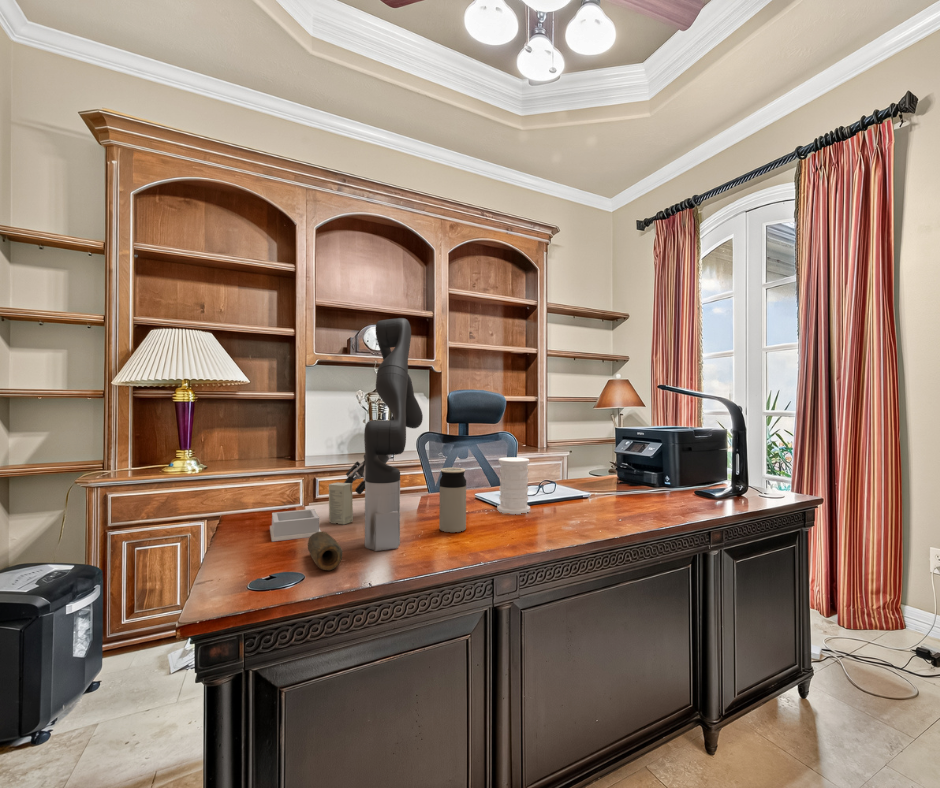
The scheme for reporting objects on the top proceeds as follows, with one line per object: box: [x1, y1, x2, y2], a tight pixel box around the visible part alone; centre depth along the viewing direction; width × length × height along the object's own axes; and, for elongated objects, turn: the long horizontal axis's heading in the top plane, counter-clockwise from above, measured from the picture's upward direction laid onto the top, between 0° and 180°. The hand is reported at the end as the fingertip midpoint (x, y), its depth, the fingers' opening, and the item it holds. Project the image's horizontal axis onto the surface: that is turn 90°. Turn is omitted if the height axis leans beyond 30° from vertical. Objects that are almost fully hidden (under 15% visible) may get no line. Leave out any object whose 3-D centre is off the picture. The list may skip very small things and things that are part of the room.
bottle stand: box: [269, 508, 322, 542], centre depth 135 cm, size 13×13×5 cm
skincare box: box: [328, 481, 354, 525], centre depth 146 cm, size 6×4×12 cm
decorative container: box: [496, 456, 531, 515], centre depth 163 cm, size 12×12×18 cm
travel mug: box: [438, 467, 467, 534], centre depth 139 cm, size 8×8×18 cm
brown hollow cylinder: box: [307, 531, 343, 571], centre depth 110 cm, size 15×7×7 cm, turn 31°
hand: (350, 490), depth 149 cm, fingers open, 8 cm apart
